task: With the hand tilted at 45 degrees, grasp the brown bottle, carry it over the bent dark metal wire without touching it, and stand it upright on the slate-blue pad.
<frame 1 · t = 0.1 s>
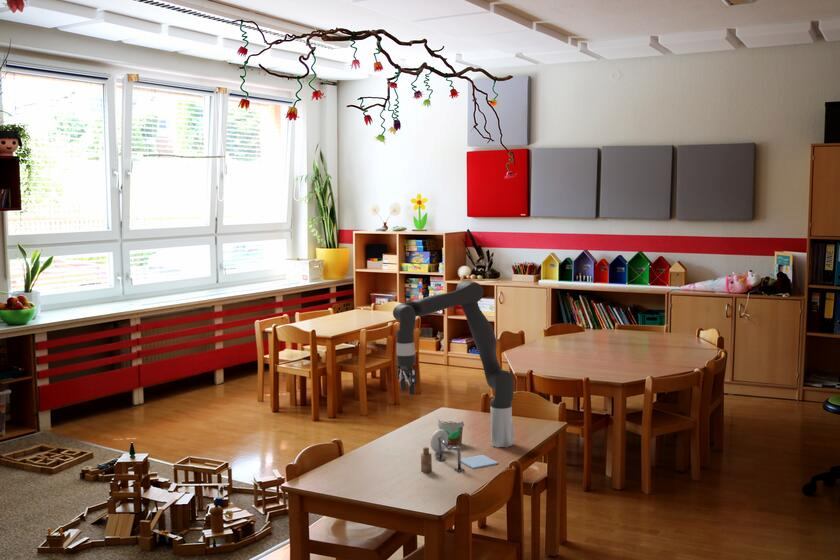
hand: (407, 392, 323), 29 cm above the table, tool pointing down, fingers open, 8 cm apart
brown bottle: (426, 471, 313), on the table
bent wire: (449, 465, 320), on the table
food container: (449, 444, 349), on the table
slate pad: (477, 462, 323), on the table
grey wheel: (439, 452, 338), on the table
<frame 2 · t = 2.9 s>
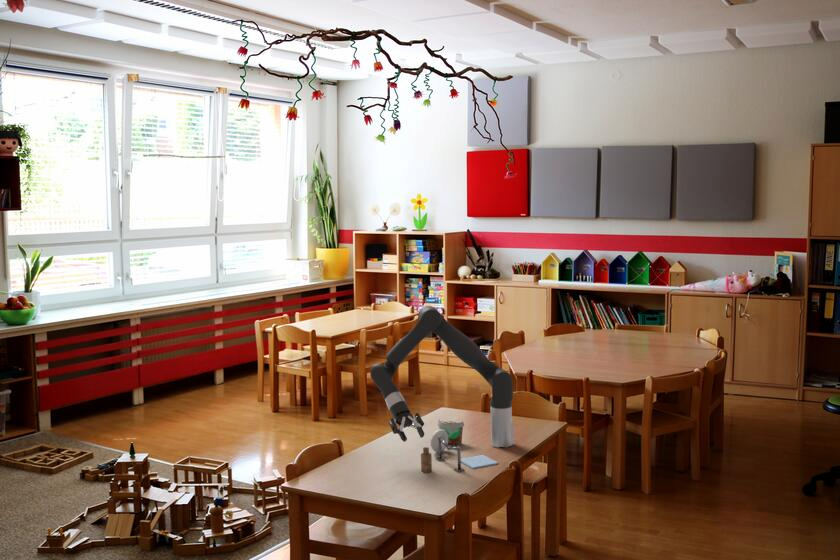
hand: (414, 438, 319), 12 cm above the table, tool tilted 45°, fingers open, 8 cm apart
nothing on the table moved.
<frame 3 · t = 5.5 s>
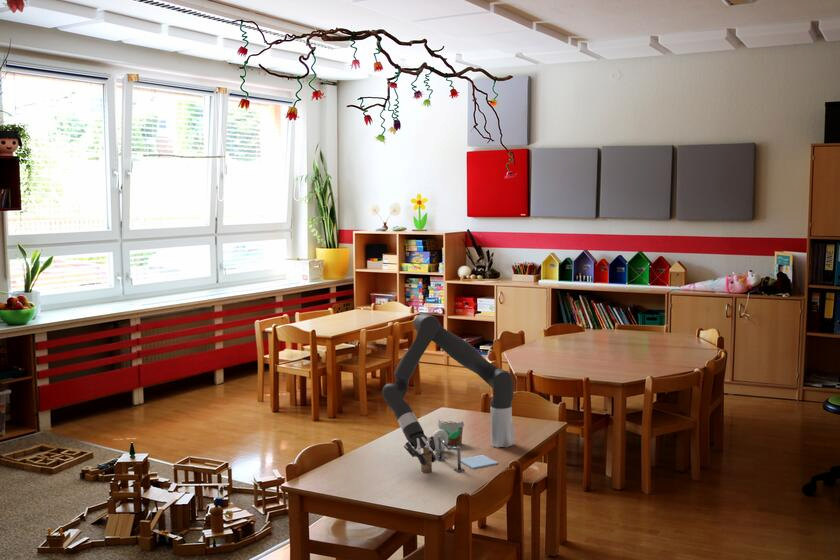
hand: (429, 462, 312), 4 cm above the table, tool tilted 45°, fingers closed on brown bottle, 4 cm apart
brown bottle: (426, 471, 313), on the table, touching gripper
everything else where it was.
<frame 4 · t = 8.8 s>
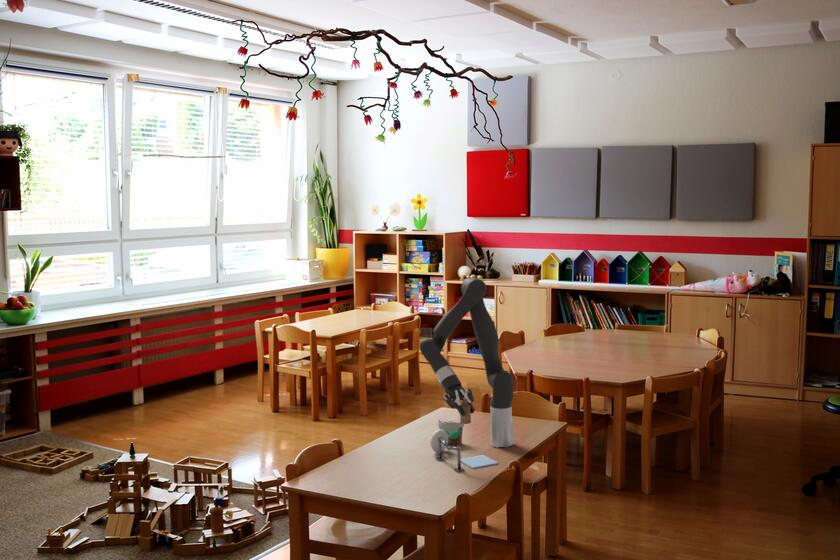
hand: (468, 413, 317), 21 cm above the table, tool tilted 45°, fingers closed on brown bottle, 4 cm apart
brown bottle: (465, 422, 319), point 17 cm above the table, touching gripper
everything else where it was.
when the fingers open (6 cm above the table, at t = 11.9 s): brown bottle drops 1 cm, resting on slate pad.
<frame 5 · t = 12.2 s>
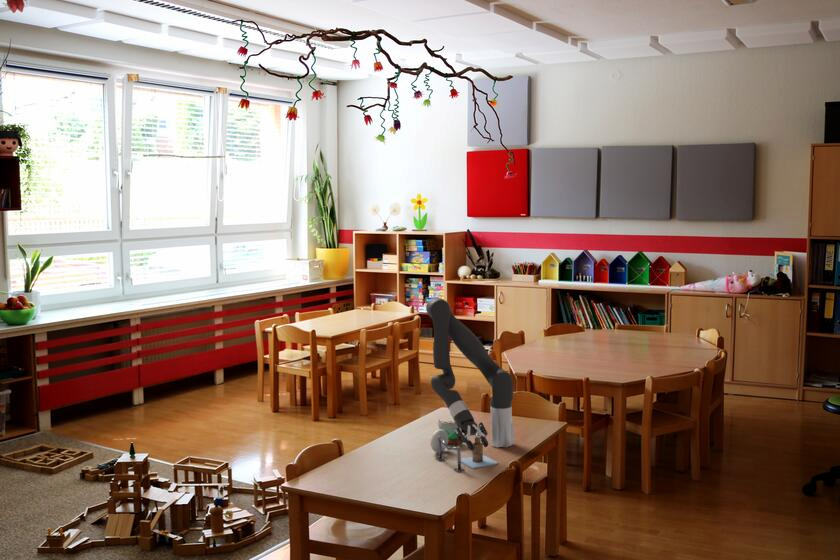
hand: (480, 447, 321), 6 cm above the table, tool tilted 45°, fingers open, 6 cm apart
brown bottle: (477, 460, 323), point 1 cm above the table, touching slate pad
everything else where it was.
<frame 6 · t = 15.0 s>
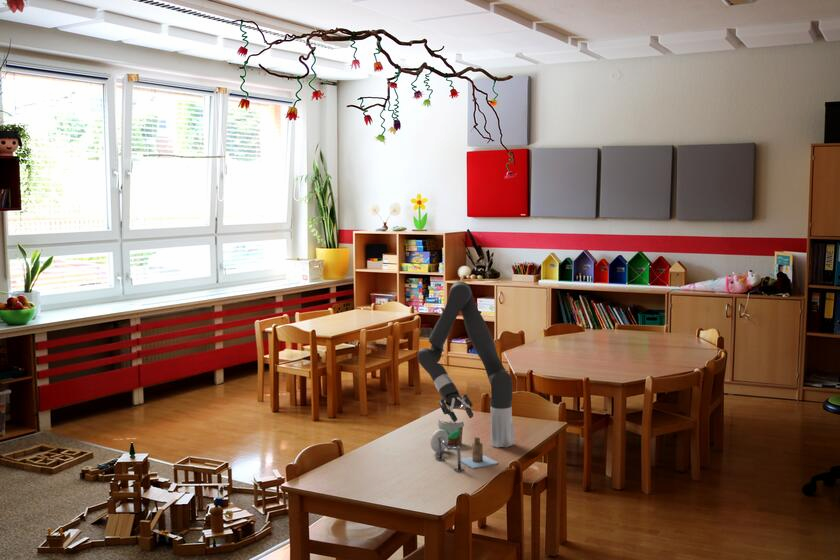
hand: (463, 418, 328), 16 cm above the table, tool tilted 45°, fingers open, 8 cm apart
nothing on the table moved.
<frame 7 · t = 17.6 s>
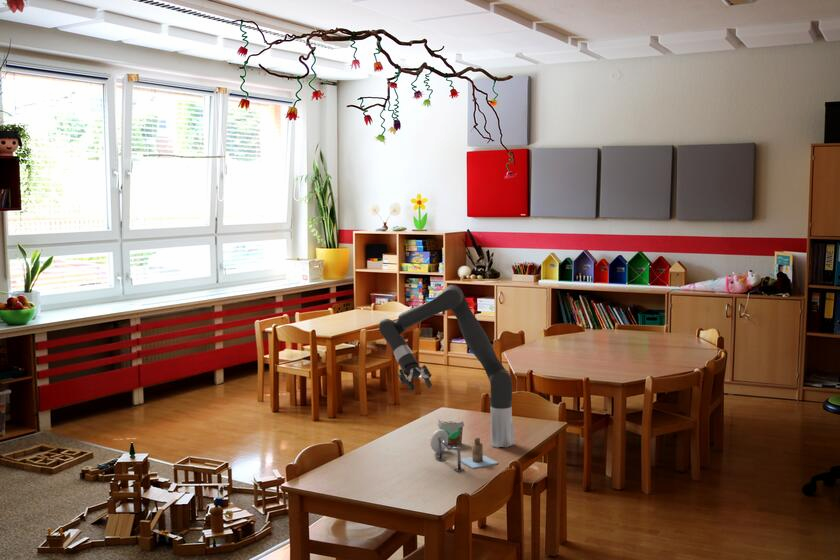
hand: (422, 388, 331), 29 cm above the table, tool tilted 45°, fingers open, 8 cm apart
nothing on the table moved.
at the end: brown bottle inside the target area on the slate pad (0.1 cm from its centre), point 0.6 cm above the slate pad's base; brown bottle tilted 0°; brown bottle touching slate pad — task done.
